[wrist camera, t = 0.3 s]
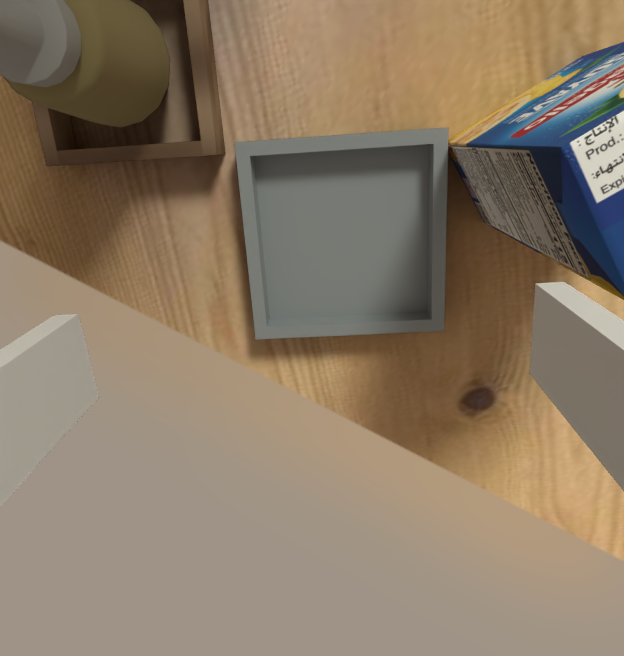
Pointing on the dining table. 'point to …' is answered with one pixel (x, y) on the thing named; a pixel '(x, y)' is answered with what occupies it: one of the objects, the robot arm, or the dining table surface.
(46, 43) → the squeeze bottle
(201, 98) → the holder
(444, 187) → the tray
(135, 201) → the dining table surface
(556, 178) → the beverage box
